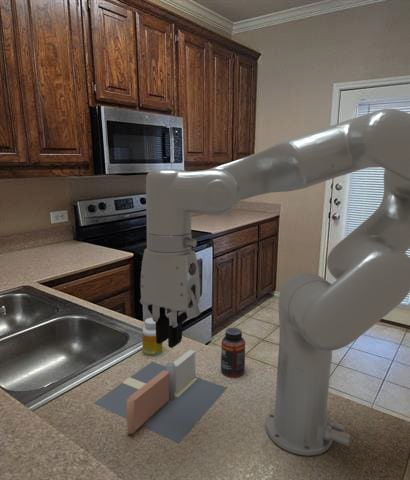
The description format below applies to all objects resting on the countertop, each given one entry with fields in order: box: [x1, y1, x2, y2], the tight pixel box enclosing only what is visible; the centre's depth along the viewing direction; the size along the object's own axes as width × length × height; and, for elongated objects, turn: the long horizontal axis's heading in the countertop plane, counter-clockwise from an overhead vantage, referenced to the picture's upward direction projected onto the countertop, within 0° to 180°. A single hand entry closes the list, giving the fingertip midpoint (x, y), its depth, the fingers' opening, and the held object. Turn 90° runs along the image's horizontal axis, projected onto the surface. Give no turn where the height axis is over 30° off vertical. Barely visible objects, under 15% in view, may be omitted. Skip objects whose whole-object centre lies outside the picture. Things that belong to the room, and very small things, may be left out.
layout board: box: [93, 349, 228, 444], centre depth 78 cm, size 22×20×8 cm
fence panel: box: [126, 370, 170, 435], centre depth 71 cm, size 12×2×7 cm, turn 150°
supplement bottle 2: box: [220, 327, 246, 379], centre depth 88 cm, size 6×6×11 cm
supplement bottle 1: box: [141, 317, 163, 358], centre depth 97 cm, size 5×5×10 cm
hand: (168, 342), depth 64 cm, fingers closed
